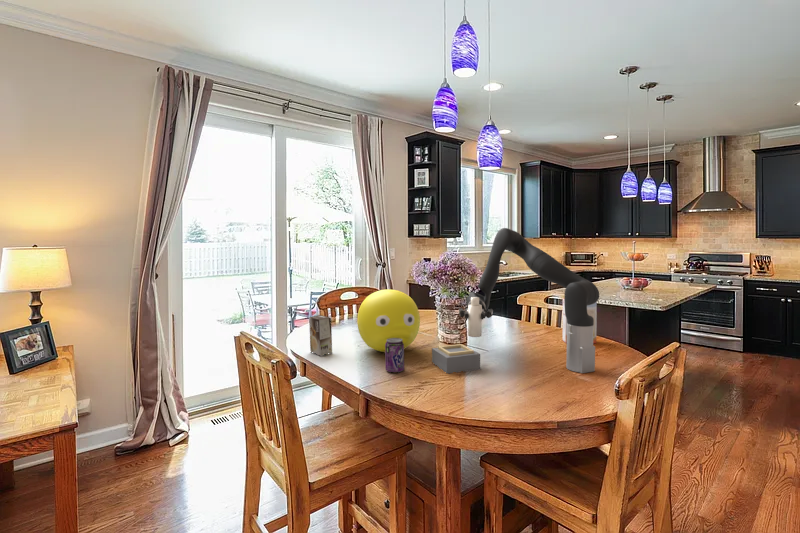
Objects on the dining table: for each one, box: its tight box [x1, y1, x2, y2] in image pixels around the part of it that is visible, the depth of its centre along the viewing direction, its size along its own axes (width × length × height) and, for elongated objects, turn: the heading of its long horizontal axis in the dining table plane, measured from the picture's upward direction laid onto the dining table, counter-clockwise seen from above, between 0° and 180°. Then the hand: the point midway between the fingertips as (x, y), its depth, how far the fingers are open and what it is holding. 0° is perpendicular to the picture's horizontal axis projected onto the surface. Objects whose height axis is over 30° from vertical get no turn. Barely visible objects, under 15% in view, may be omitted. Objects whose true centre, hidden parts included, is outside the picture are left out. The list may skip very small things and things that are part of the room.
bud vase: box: [467, 297, 483, 338], centre depth 165 cm, size 5×5×15 cm
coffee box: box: [308, 314, 333, 356], centre depth 186 cm, size 9×6×16 cm
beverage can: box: [384, 338, 405, 373], centre depth 160 cm, size 7×7×12 cm
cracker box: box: [562, 297, 598, 344], centre depth 198 cm, size 14×6×21 cm, turn 84°
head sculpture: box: [356, 288, 421, 353], centre depth 187 cm, size 28×28×28 cm
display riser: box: [431, 343, 481, 374], centre depth 165 cm, size 14×14×7 cm
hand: (474, 316), depth 162 cm, fingers closed on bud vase, 5 cm apart
